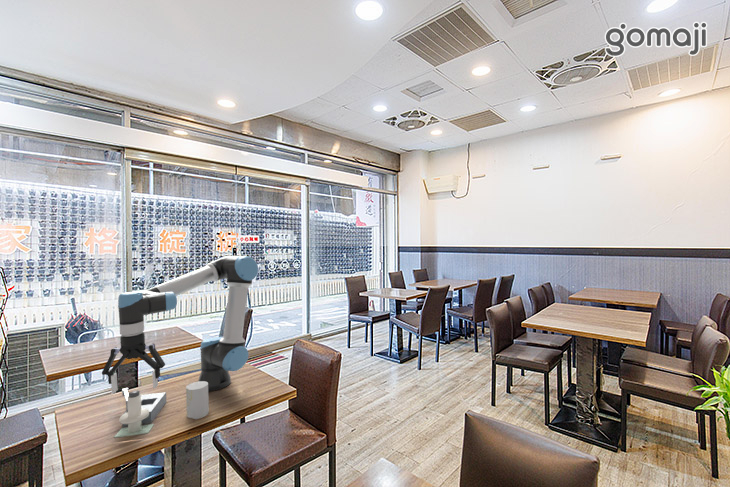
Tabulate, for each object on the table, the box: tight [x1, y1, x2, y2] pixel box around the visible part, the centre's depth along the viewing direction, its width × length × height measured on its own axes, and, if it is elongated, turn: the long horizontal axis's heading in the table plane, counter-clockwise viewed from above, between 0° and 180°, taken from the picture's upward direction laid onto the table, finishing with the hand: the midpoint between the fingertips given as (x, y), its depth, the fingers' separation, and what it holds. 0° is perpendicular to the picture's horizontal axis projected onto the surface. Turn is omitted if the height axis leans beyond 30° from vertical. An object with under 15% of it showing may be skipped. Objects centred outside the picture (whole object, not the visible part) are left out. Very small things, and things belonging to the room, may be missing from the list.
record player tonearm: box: [121, 387, 129, 412], centre depth 137 cm, size 2×16×4 cm, turn 41°
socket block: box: [121, 391, 167, 428], centre depth 139 cm, size 10×18×5 cm, turn 14°
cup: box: [185, 381, 210, 420], centre depth 139 cm, size 8×8×12 cm
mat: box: [113, 423, 155, 439], centre depth 126 cm, size 11×6×1 cm, turn 104°
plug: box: [119, 389, 149, 433], centre depth 126 cm, size 9×9×14 cm
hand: (135, 389), depth 126 cm, fingers open, 13 cm apart
